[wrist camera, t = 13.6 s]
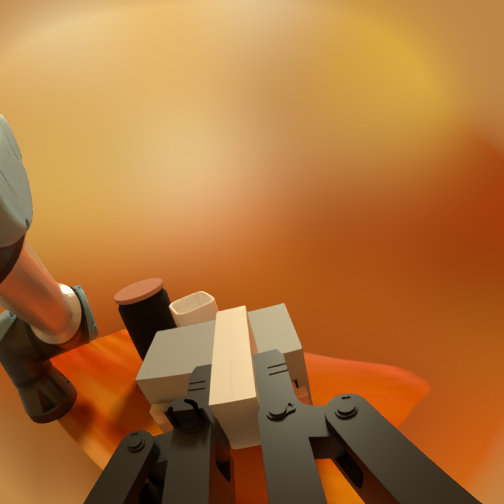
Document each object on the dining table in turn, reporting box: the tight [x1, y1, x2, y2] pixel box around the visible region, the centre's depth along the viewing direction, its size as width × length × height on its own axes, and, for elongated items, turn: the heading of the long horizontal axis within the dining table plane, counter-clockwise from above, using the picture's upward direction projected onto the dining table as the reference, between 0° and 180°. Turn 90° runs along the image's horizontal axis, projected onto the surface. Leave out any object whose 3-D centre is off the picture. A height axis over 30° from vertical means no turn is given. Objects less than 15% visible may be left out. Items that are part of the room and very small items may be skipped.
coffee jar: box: [114, 278, 177, 361], centre depth 53 cm, size 11×11×18 cm
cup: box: [169, 291, 219, 328], centre depth 49 cm, size 7×7×15 cm
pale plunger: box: [149, 403, 174, 433], centre depth 34 cm, size 5×12×5 cm, turn 4°
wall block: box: [135, 303, 313, 406], centre depth 36 cm, size 20×12×14 cm, turn 94°
